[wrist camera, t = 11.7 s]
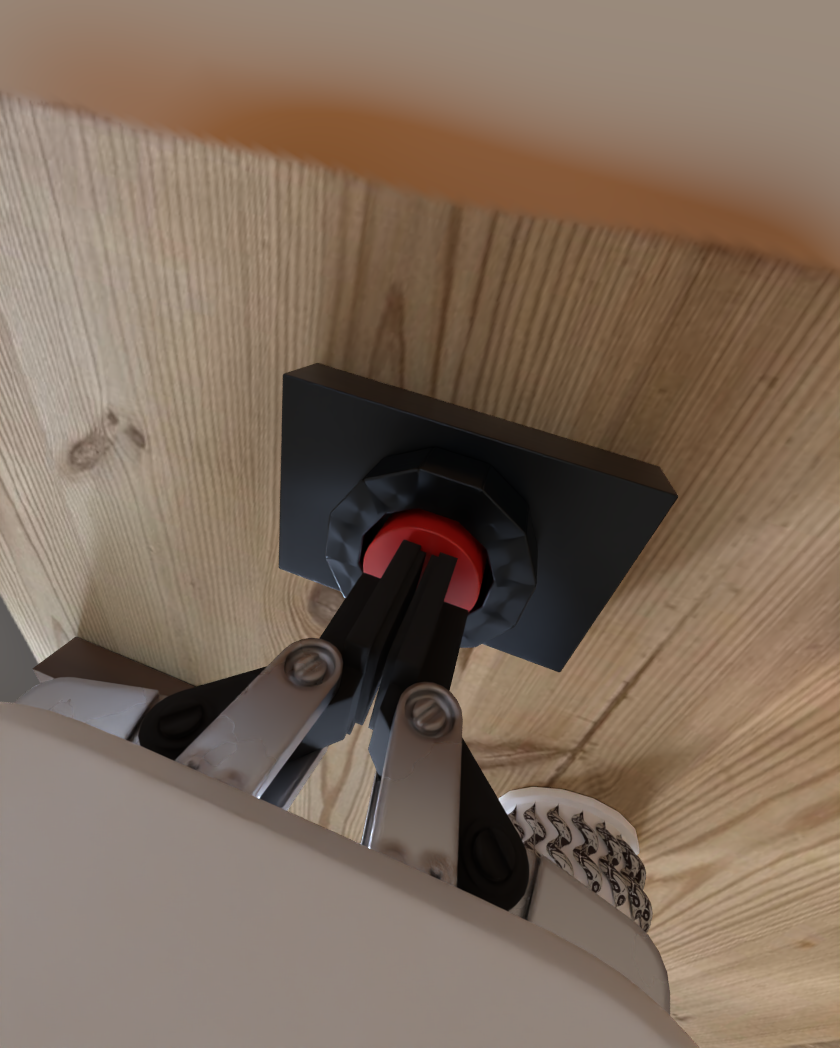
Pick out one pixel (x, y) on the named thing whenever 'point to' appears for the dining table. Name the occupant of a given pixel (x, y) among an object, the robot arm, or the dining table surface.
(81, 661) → the control panel
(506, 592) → the button box
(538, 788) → the decorative candle
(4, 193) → the dining table surface
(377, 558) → the button
